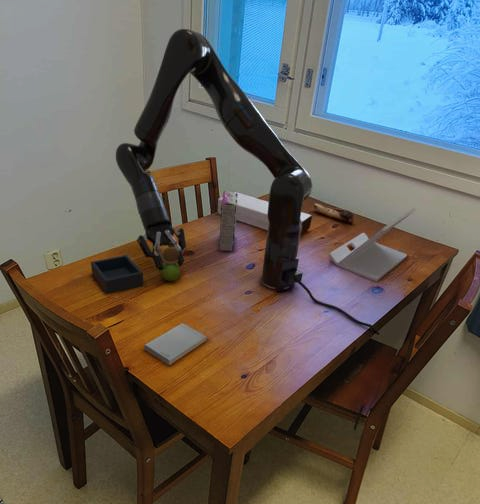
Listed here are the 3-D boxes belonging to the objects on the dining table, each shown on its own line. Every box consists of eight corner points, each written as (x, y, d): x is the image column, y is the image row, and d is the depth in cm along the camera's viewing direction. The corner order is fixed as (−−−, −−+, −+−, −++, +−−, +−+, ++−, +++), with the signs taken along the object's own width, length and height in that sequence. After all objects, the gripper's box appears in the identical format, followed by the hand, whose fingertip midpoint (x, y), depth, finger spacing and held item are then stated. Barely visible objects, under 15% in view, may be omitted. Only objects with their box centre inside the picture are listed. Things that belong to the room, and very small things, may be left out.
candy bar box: (220, 236, 159) (223, 190, 150) (234, 237, 159) (238, 191, 150) (218, 250, 150) (221, 202, 141) (233, 252, 150) (237, 204, 141)
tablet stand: (407, 256, 159) (422, 210, 150) (376, 281, 143) (391, 231, 133) (360, 239, 168) (372, 194, 158) (326, 260, 151) (337, 211, 141)
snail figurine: (156, 275, 134) (155, 238, 127) (177, 274, 135) (178, 237, 128) (159, 285, 130) (158, 247, 123) (181, 283, 131) (181, 245, 124)
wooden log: (359, 221, 183) (320, 206, 191) (362, 210, 181) (323, 195, 189) (348, 226, 177) (309, 211, 185) (352, 215, 174) (311, 200, 182)
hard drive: (169, 360, 101) (206, 336, 110) (143, 344, 105) (181, 321, 113) (169, 366, 102) (206, 341, 111) (144, 350, 106) (181, 327, 114)
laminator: (309, 230, 170) (312, 215, 167) (294, 241, 161) (297, 225, 158) (232, 206, 183) (233, 191, 180) (215, 215, 174) (216, 199, 171)
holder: (143, 285, 129) (143, 272, 126) (106, 294, 124) (105, 280, 121) (127, 267, 136) (126, 254, 134) (92, 274, 131) (90, 261, 129)
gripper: (131, 209, 123) (151, 268, 122) (179, 202, 130) (199, 258, 129) (125, 220, 129) (144, 276, 128) (171, 213, 136) (189, 266, 135)
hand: (171, 267), depth 128 cm, fingers closed on snail figurine, 5 cm apart
